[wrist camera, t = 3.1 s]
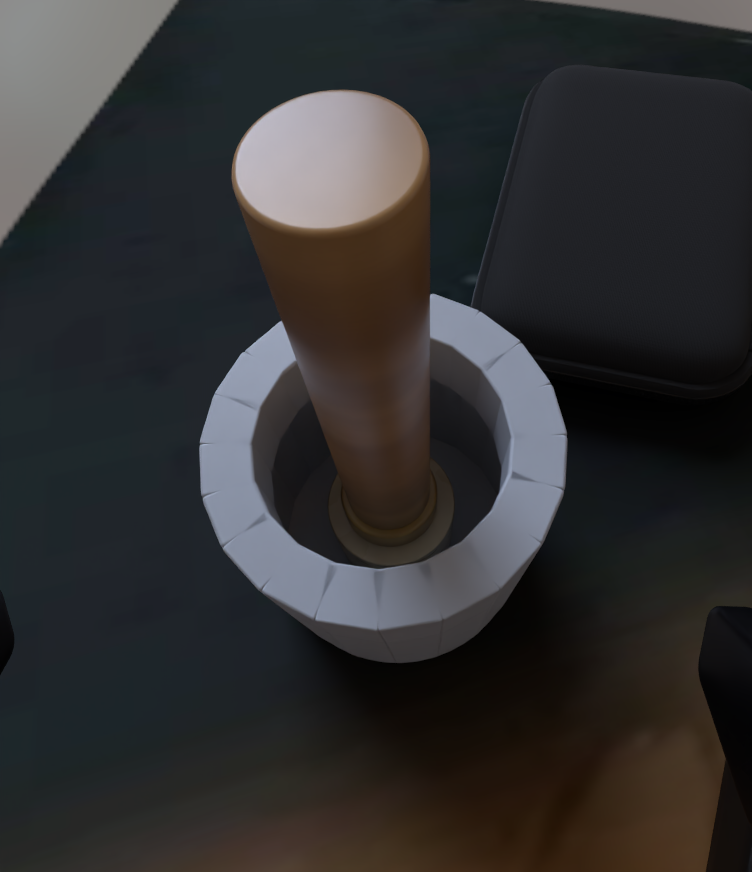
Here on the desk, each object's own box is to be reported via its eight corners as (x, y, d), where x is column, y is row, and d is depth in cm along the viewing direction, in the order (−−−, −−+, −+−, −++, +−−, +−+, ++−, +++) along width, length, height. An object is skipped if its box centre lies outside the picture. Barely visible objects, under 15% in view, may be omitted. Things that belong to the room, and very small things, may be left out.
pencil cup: (546, 640, 19) (617, 591, 12) (289, 683, 19) (205, 660, 12) (488, 410, 23) (516, 264, 15) (269, 447, 23) (194, 319, 15)
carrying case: (765, 442, 21) (777, 135, 27) (814, 400, 19) (818, 68, 24) (455, 378, 23) (527, 104, 29) (459, 332, 20) (538, 38, 26)
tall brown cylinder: (461, 576, 20) (534, 255, 6) (348, 595, 20) (167, 319, 6) (439, 471, 21) (458, 23, 8) (334, 488, 21) (164, 75, 8)
